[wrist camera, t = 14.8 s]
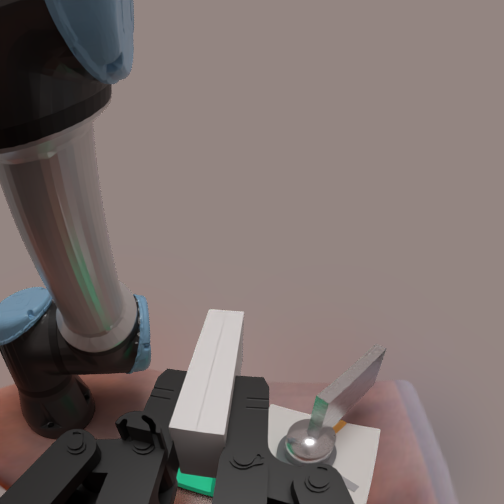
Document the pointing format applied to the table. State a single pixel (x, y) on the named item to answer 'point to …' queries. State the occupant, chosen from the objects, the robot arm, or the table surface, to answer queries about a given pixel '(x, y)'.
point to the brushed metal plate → (331, 411)
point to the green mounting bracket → (196, 483)
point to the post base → (345, 444)
